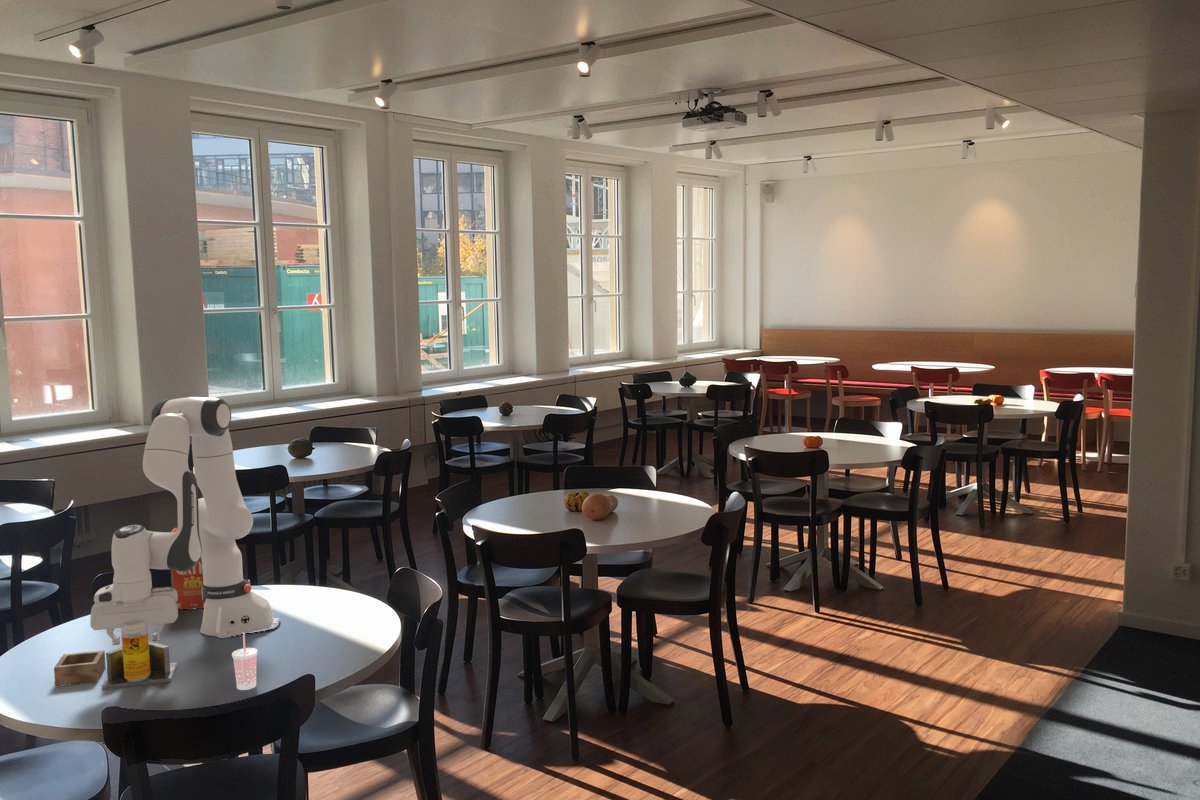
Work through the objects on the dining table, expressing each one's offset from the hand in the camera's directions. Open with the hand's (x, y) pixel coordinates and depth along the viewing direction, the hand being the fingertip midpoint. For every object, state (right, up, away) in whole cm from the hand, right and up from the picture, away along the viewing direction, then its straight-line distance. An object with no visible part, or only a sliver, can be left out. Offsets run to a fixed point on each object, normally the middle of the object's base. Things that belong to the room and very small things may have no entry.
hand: (136, 642), depth 251 cm
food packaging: (-11, -4, +63) cm, 64 cm away
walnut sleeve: (-16, -10, +4) cm, 19 cm away
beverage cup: (+30, -10, -4) cm, 32 cm away
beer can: (0, -9, 0) cm, 9 cm away
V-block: (0, -10, +3) cm, 10 cm away
